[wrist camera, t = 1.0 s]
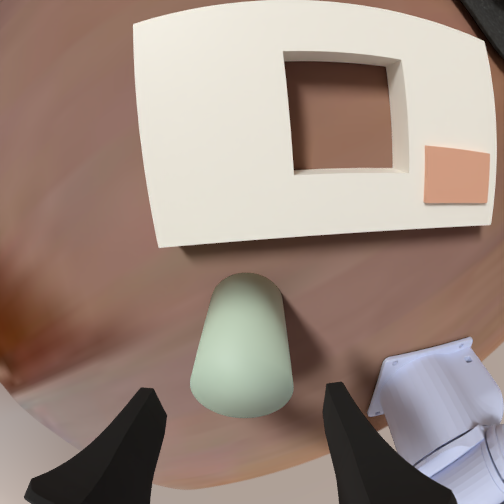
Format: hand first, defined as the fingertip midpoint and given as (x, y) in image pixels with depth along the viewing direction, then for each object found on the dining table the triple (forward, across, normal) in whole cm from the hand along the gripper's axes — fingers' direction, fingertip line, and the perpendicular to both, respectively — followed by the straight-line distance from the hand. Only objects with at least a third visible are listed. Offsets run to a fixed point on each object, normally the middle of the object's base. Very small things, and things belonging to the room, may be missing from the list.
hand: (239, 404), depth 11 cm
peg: (+8, 0, 0) cm, 8 cm away
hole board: (+8, -6, -11) cm, 15 cm away
